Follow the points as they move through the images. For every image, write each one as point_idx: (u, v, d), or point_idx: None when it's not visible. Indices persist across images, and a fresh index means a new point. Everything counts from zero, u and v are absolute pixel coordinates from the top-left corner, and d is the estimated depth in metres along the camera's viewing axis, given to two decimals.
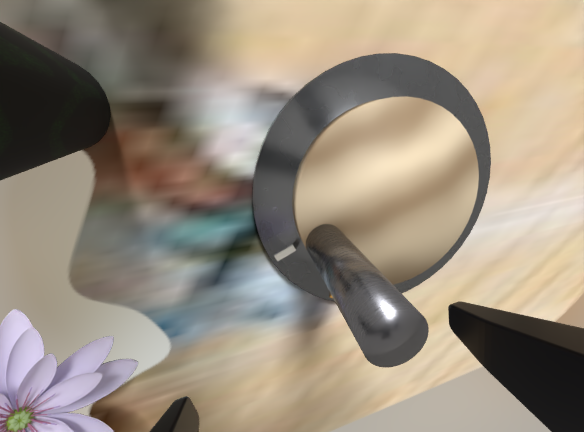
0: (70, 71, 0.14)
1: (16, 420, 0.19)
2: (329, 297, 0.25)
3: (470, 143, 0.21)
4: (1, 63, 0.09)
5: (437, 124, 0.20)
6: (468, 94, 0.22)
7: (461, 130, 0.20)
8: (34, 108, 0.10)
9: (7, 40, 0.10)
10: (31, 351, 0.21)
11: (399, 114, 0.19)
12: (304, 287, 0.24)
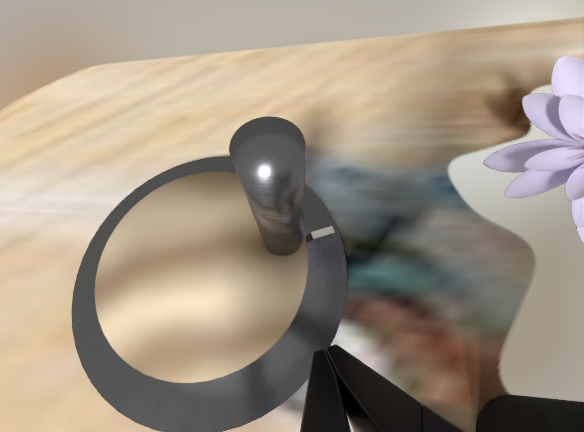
0: None
1: None
2: None
3: (98, 305, 0.18)
4: None
5: (130, 337, 0.18)
6: (82, 360, 0.19)
7: (104, 323, 0.18)
8: None
9: None
10: (583, 205, 0.22)
11: (171, 359, 0.17)
12: (309, 191, 0.24)
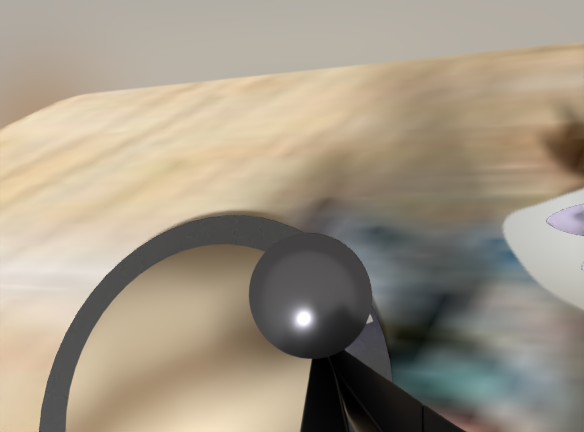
0: None
1: None
2: None
3: None
4: None
5: None
6: None
7: None
8: None
9: None
10: None
11: None
12: None
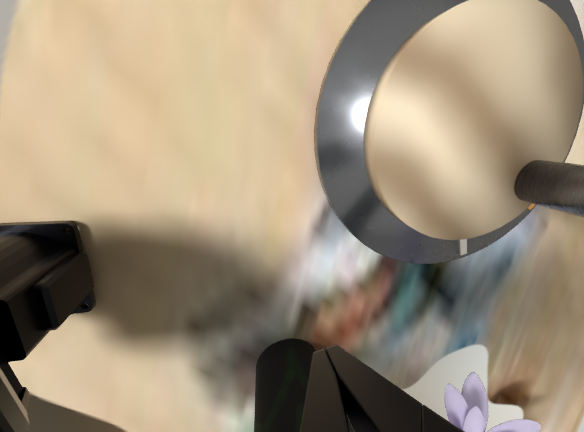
0: (287, 376, 0.20)
1: None
2: (529, 209, 0.23)
3: (396, 73, 0.16)
4: None
5: (392, 135, 0.17)
6: None
7: (387, 98, 0.16)
8: None
9: None
10: None
11: (398, 183, 0.18)
12: (504, 232, 0.23)
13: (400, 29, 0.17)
